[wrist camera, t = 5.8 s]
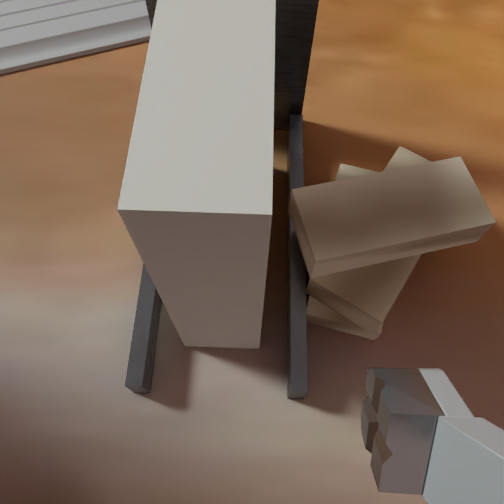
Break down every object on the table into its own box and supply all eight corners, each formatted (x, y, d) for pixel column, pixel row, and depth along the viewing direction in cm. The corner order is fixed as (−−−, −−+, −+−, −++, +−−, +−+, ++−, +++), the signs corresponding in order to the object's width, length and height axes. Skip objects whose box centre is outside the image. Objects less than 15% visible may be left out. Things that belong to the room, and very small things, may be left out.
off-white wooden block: (184, 346, 24) (117, 209, 12) (202, 163, 30) (169, -67, 17) (259, 348, 24) (272, 214, 12) (264, 165, 30) (276, -63, 17)
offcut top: (288, 210, 24) (291, 189, 22) (445, 178, 25) (460, 156, 23) (310, 278, 22) (315, 261, 21) (477, 241, 24) (496, 222, 22)
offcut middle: (305, 292, 24) (310, 278, 22) (389, 166, 28) (400, 145, 26) (371, 334, 23) (382, 322, 22) (450, 198, 27) (465, 178, 25)
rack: (134, 393, 23) (-22, 279, 10) (173, 114, 31) (118, -157, 18) (303, 398, 23) (381, 293, 10) (299, 118, 31) (338, -151, 18)
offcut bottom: (301, 324, 26) (305, 313, 24) (334, 182, 30) (340, 163, 28) (371, 343, 25) (381, 333, 23) (395, 196, 29) (405, 178, 28)
